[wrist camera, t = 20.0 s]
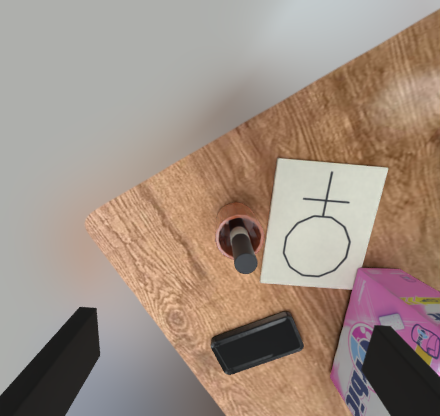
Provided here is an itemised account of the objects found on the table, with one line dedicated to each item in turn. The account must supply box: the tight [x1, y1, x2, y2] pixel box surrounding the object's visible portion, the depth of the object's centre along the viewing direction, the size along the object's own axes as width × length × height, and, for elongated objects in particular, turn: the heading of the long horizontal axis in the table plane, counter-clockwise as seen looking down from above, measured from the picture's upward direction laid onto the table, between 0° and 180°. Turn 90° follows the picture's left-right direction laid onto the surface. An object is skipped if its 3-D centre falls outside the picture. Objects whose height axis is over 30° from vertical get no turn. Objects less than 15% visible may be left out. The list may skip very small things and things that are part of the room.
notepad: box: [260, 158, 388, 290], centre depth 34 cm, size 20×16×1 cm
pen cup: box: [215, 202, 264, 260], centre depth 30 cm, size 6×6×7 cm
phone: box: [211, 312, 304, 375], centre depth 39 cm, size 8×1×15 cm
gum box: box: [330, 268, 440, 416], centre depth 32 cm, size 24×8×14 cm, turn 175°
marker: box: [229, 218, 257, 274], centre depth 27 cm, size 2×2×13 cm
